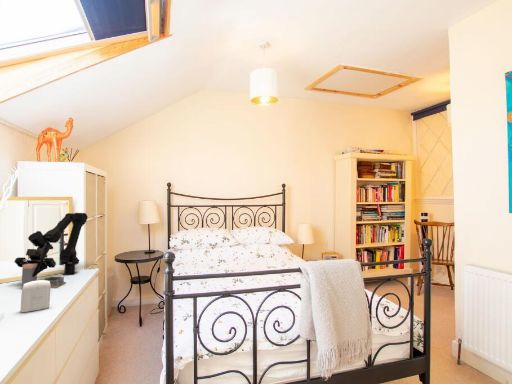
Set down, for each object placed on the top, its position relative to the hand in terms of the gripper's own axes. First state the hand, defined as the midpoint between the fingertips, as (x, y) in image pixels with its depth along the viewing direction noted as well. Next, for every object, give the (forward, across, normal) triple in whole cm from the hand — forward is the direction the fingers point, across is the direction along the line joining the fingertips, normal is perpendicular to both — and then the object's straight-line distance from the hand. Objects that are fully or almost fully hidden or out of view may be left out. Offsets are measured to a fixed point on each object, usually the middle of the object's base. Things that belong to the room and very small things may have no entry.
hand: (27, 276), depth 160 cm
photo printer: (+26, +22, -16) cm, 38 cm away
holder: (0, +9, +9) cm, 13 cm away
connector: (+4, 0, +6) cm, 7 cm away
